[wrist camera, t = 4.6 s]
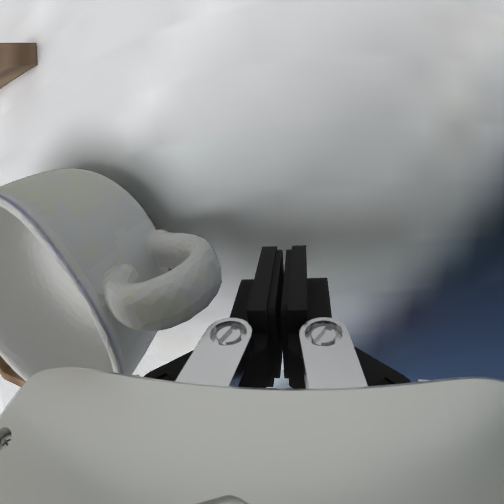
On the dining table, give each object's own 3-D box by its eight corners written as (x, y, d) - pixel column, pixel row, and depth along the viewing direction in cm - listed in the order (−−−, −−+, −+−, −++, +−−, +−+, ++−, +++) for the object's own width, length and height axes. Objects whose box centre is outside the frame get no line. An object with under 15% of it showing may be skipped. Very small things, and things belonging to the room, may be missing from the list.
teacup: (69, 308, 20) (8, 382, 13) (25, 164, 15) (-74, 213, 8) (257, 325, 17) (230, 450, 10) (241, 124, 12) (166, 158, 5)
